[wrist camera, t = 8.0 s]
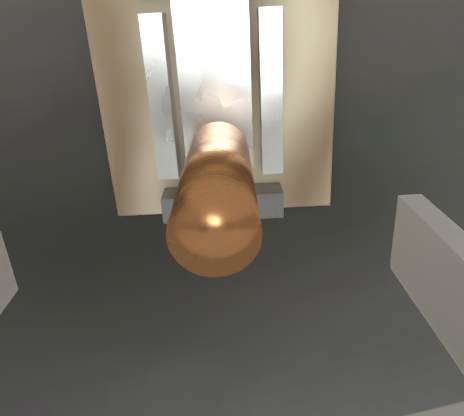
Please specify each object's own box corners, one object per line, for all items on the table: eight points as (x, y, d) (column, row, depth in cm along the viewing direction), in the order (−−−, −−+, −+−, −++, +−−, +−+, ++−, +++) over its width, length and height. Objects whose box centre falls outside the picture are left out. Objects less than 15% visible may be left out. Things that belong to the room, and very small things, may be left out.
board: (121, 211, 29) (118, 216, 28) (78, -43, 23) (73, -45, 23) (327, 200, 29) (329, 205, 28) (337, -58, 23) (341, -60, 22)
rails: (167, 210, 28) (163, 223, 27) (144, 14, 24) (137, 13, 22) (279, 204, 28) (283, 217, 26) (278, 7, 24) (282, 5, 22)
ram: (157, 174, 27) (108, 282, 16) (129, -47, 22) (31, -117, 11) (284, 168, 27) (326, 271, 16) (284, -56, 22) (343, -136, 11)
